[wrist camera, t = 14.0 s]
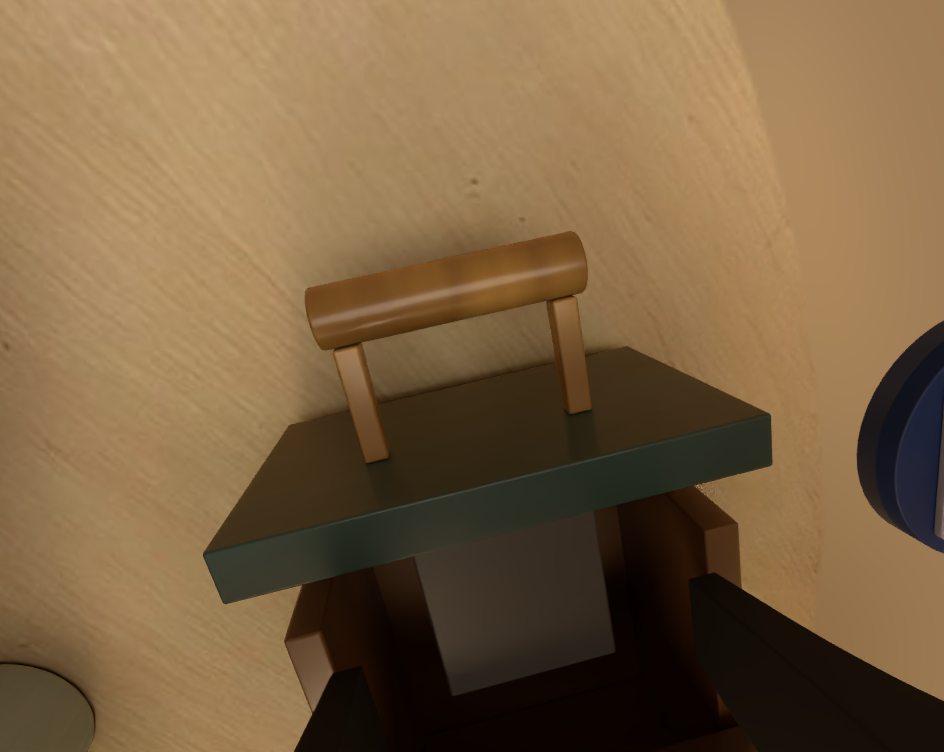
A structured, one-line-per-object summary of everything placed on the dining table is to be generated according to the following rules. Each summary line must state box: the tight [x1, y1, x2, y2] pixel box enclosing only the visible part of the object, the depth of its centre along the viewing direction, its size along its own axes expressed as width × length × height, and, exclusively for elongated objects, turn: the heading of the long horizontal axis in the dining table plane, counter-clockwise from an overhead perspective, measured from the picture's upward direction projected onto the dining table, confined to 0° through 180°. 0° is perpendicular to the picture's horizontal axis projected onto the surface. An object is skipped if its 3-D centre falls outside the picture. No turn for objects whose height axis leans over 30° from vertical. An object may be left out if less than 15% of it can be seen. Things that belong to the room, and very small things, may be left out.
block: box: [412, 511, 616, 696], centre depth 14 cm, size 4×4×4 cm
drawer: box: [203, 231, 772, 752], centre depth 14 cm, size 18×11×7 cm, turn 12°
